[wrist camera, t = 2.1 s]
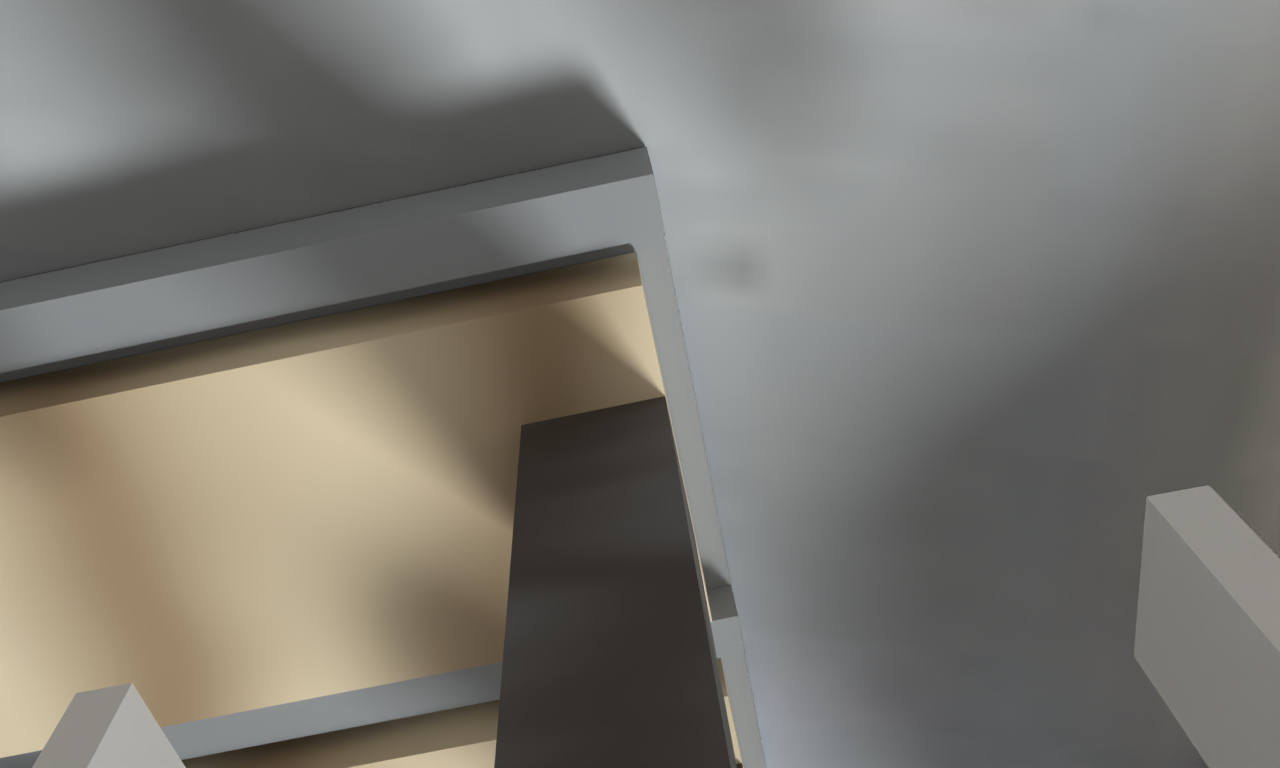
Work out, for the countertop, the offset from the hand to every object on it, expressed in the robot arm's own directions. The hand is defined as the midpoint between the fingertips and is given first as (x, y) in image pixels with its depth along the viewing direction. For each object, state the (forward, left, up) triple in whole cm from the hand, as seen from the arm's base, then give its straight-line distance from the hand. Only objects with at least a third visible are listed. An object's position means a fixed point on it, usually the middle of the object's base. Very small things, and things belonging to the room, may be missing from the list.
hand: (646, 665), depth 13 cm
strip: (-10, 0, -6) cm, 12 cm away
